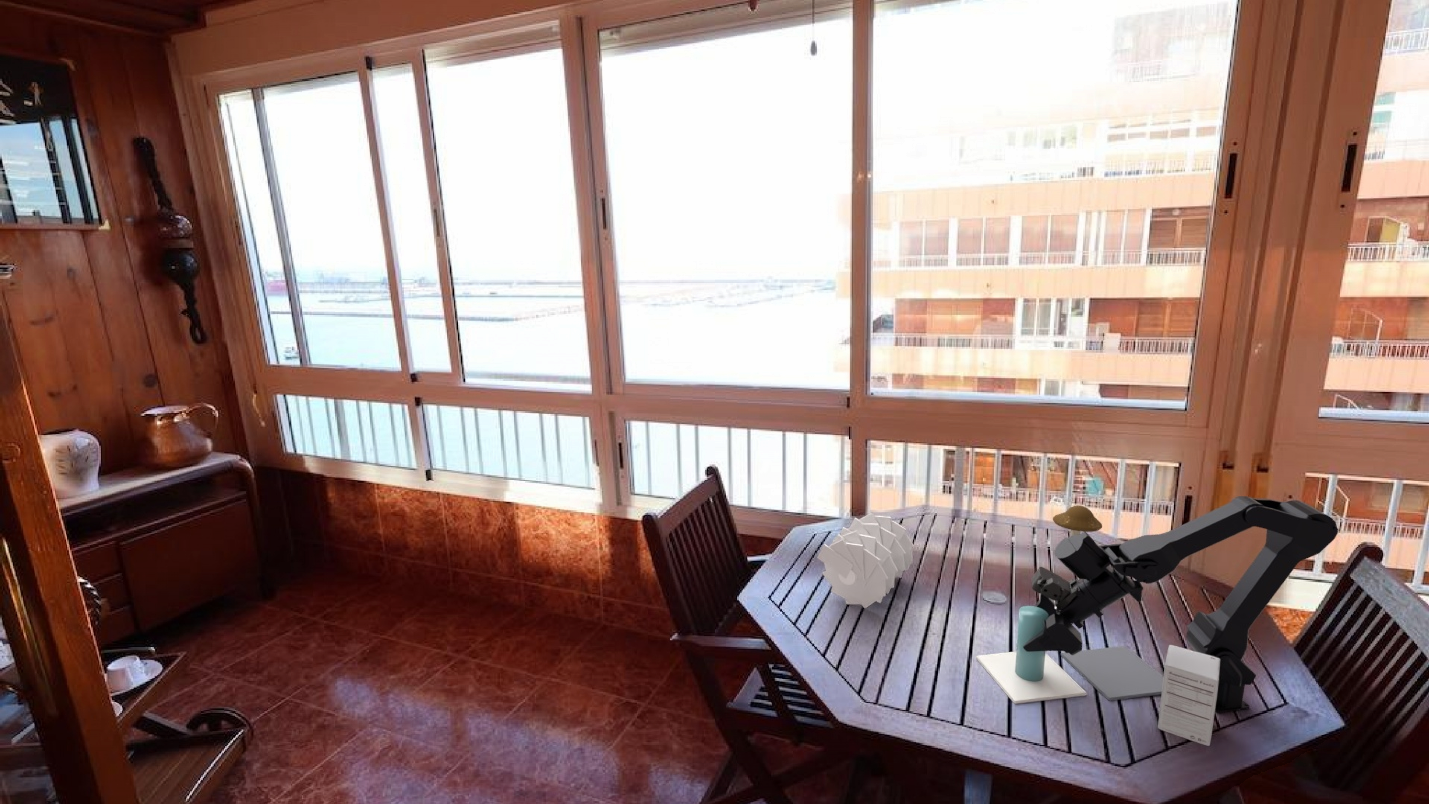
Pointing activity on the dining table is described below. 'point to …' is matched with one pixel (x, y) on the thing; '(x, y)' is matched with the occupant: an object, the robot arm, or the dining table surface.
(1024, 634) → the teal cylinder
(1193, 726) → the supplement box
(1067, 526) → the mushroom
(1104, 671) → the slate tile
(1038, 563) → the dining table surface
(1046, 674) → the pale tile
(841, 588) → the spiral staircase
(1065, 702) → the dining table surface
